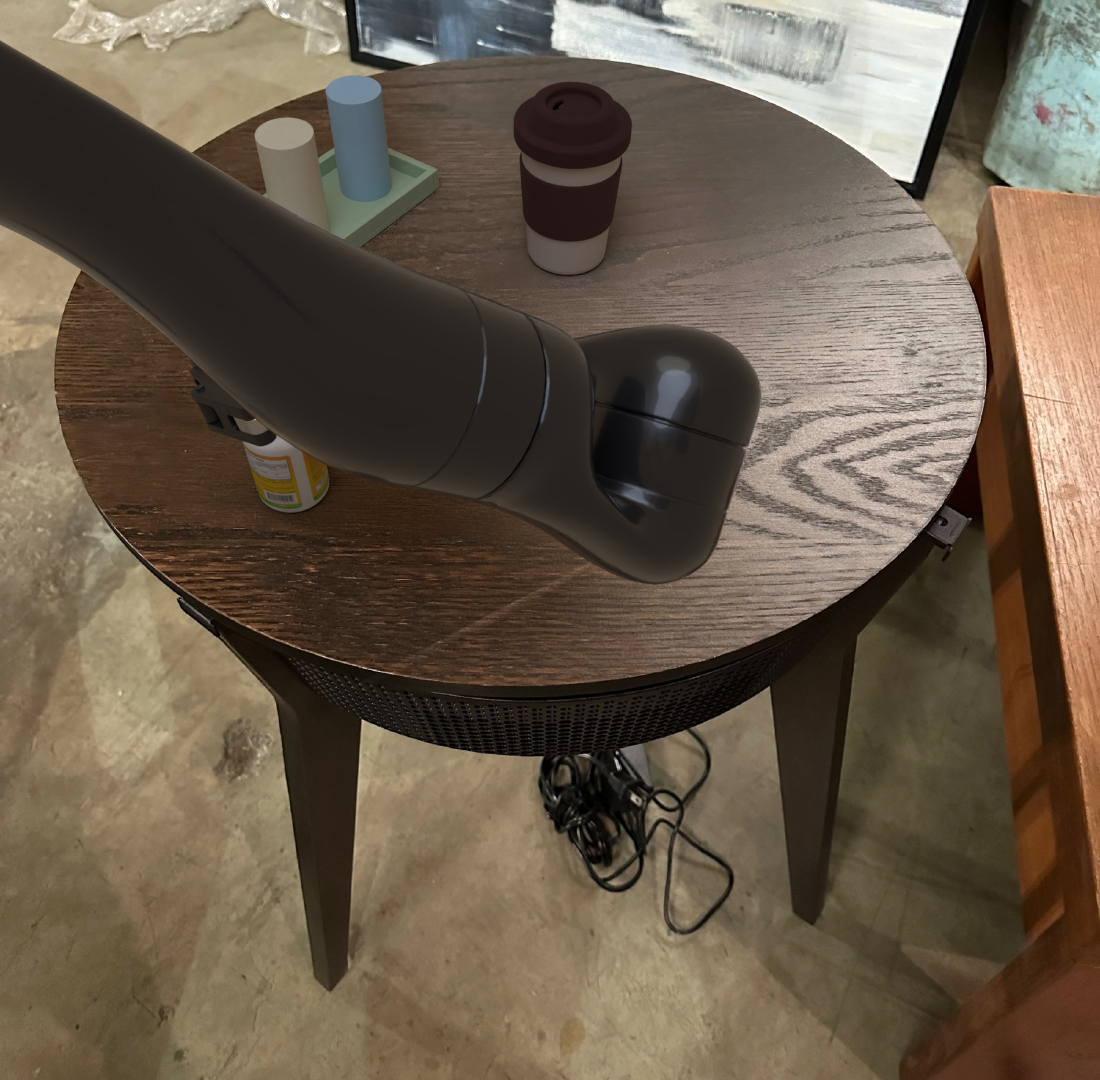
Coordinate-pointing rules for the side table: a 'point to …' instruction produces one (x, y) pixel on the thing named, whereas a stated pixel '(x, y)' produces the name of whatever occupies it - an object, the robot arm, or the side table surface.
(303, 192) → the beige upright cylinder
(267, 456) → the supplement bottle
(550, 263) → the coffee cup
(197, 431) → the side table surface
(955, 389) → the side table surface
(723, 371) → the robot arm
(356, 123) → the blue cylinder
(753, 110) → the side table surface
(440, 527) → the side table surface
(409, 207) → the tray
